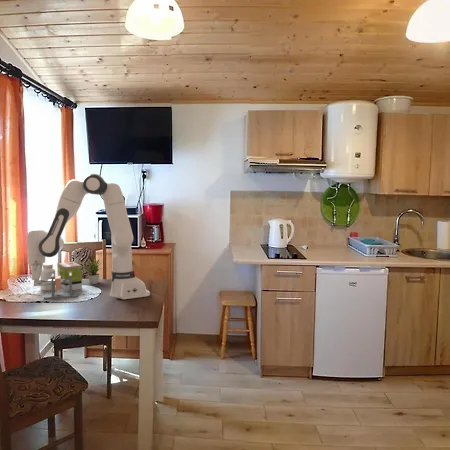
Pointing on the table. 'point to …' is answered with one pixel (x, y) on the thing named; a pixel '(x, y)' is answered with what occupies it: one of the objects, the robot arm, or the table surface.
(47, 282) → the shaft
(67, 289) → the tea box
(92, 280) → the house plant
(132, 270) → the robot arm
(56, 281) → the spacer
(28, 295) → the table surface
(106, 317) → the table surface
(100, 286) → the table surface
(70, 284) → the grey post stand
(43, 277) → the pill bottle
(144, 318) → the table surface
